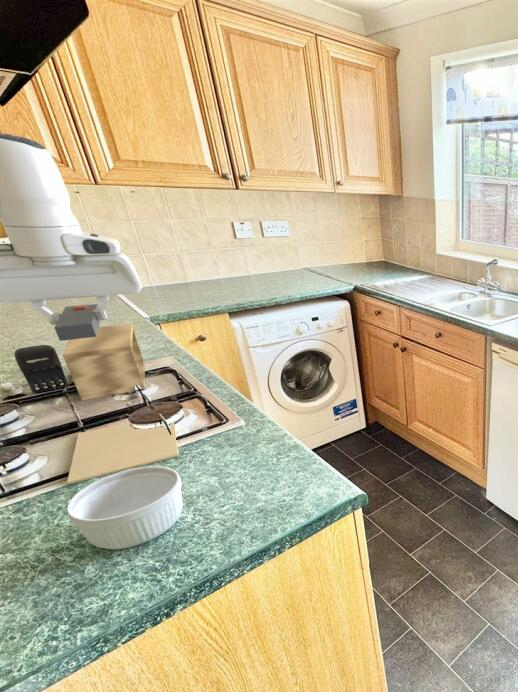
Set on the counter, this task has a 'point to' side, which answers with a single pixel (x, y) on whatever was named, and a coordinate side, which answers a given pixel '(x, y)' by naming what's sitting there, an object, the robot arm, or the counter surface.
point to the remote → (77, 322)
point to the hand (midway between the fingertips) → (80, 321)
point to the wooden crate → (106, 362)
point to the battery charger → (41, 367)
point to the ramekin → (128, 507)
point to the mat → (120, 450)
